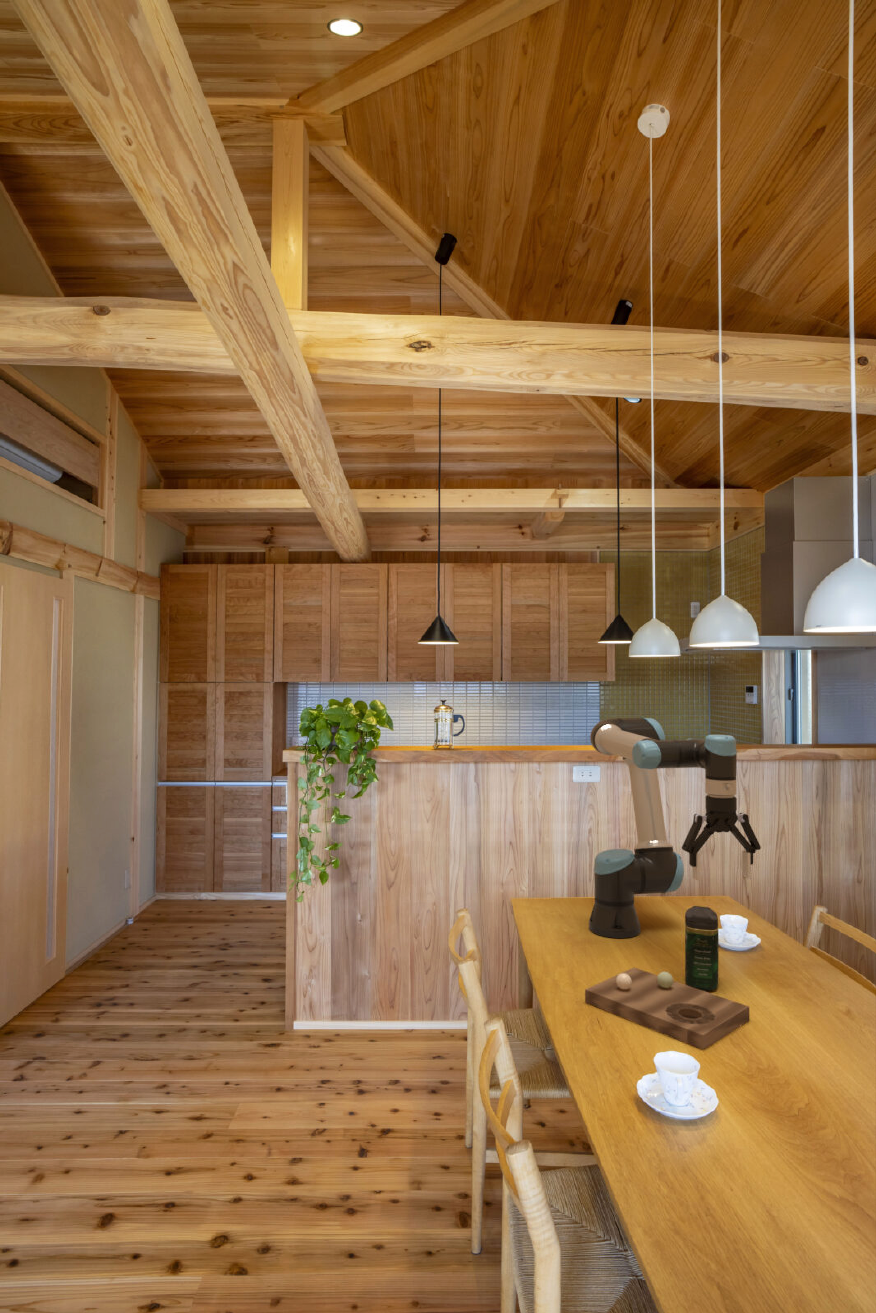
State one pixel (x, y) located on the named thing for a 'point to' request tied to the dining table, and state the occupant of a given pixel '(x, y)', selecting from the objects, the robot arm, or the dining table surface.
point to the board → (670, 1008)
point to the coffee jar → (701, 948)
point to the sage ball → (665, 980)
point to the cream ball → (623, 981)
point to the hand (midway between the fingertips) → (721, 878)
